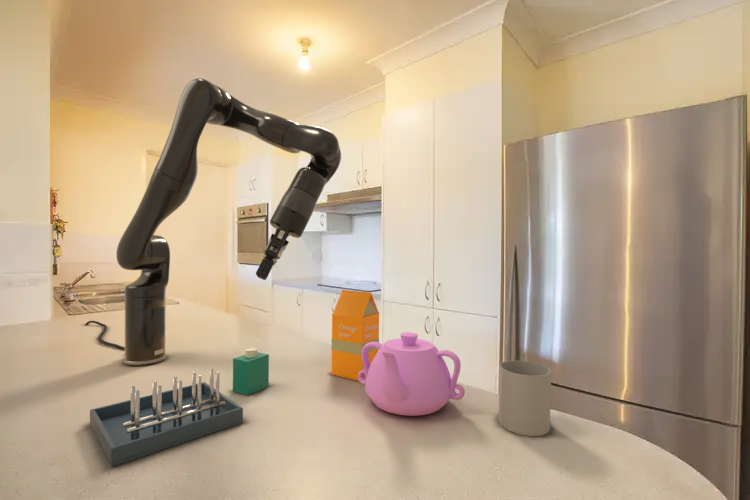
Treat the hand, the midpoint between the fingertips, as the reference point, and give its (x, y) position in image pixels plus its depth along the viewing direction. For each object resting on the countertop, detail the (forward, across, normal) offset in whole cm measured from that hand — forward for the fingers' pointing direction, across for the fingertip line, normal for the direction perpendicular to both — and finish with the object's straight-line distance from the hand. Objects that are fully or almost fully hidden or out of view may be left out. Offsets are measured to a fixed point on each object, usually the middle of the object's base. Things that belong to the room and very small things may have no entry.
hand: (260, 277), depth 82 cm
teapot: (+12, +13, +36) cm, 40 cm away
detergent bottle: (+22, -4, +9) cm, 24 cm away
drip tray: (+30, +10, -2) cm, 31 cm away
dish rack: (+28, +14, 0) cm, 32 cm away
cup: (+5, +25, +53) cm, 59 cm away
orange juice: (+11, -8, +30) cm, 33 cm away
